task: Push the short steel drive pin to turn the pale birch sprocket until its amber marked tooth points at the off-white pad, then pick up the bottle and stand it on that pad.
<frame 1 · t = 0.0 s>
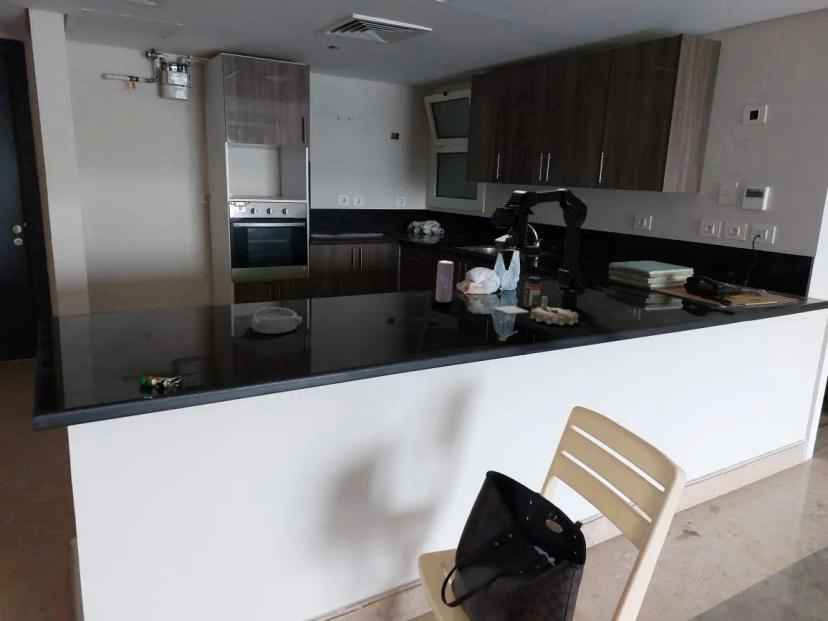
hand: (514, 272, 201), 15 cm above the counter, fingers open, 9 cm apart
supplement bottle: (531, 307, 216), on the counter
beverage can: (443, 301, 218), on the counter
dish: (274, 329, 169), on the counter
sprocket: (554, 309, 196), point 4 cm above the counter, hinge at 0.0°
pad: (510, 310, 208), on the counter
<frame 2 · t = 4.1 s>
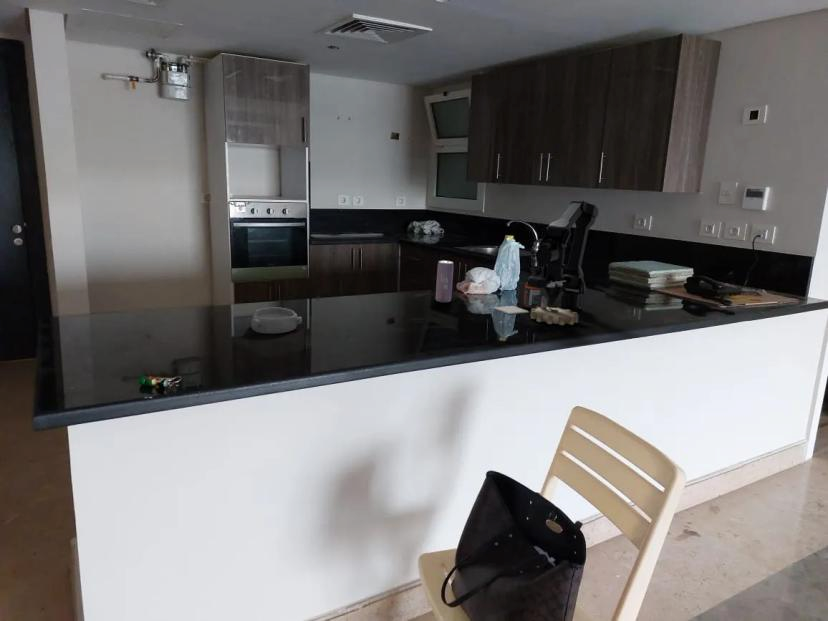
hand: (551, 305, 201), 4 cm above the counter, fingers closed
sprocket: (554, 309, 196), point 4 cm above the counter, hinge at 1.5°, touching gripper
everything else where it was.
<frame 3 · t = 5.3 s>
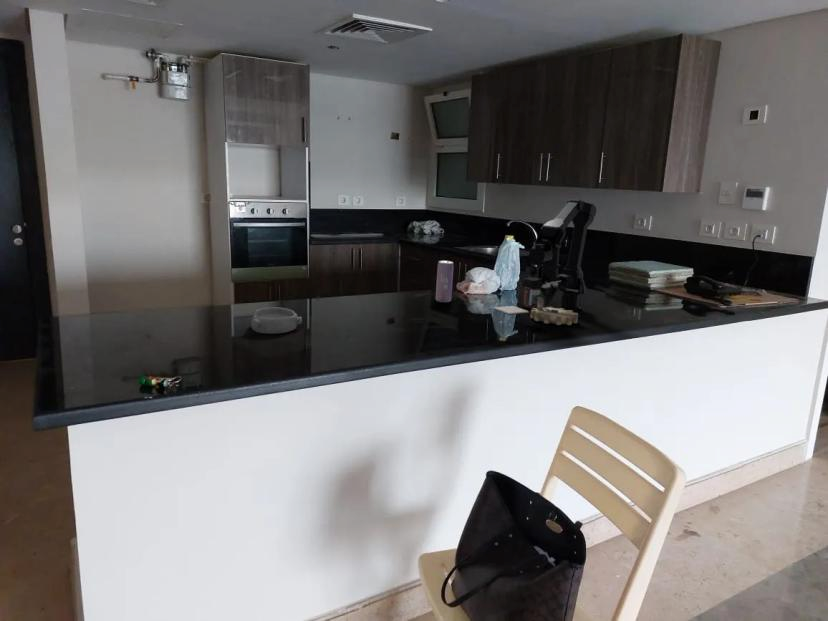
hand: (546, 305, 201), 4 cm above the counter, fingers closed
sprocket: (554, 309, 196), point 4 cm above the counter, hinge at 23.4°, touching gripper
everything else where it was.
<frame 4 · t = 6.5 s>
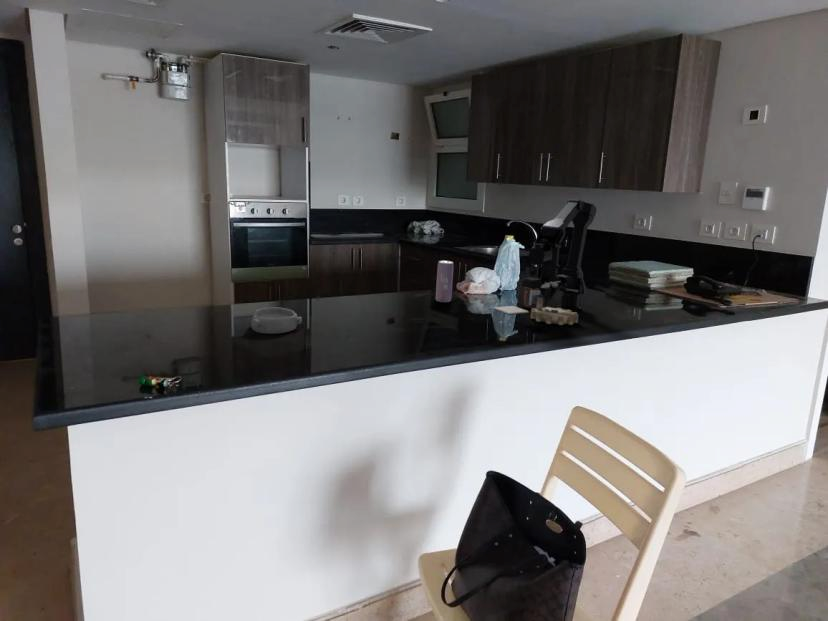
hand: (545, 305, 200), 4 cm above the counter, fingers closed
sprocket: (554, 309, 196), point 4 cm above the counter, hinge at 28.7°, touching gripper
everything else where it was.
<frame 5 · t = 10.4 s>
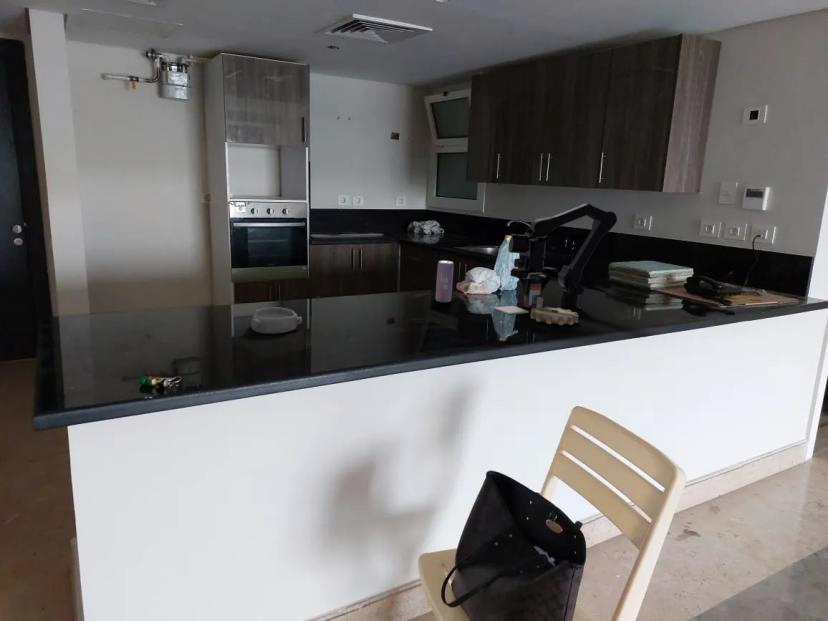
hand: (532, 295, 215), 5 cm above the counter, fingers closed on supplement bottle, 6 cm apart
supplement bottle: (531, 307, 216), on the counter, touching gripper
sprocket: (554, 309, 196), point 4 cm above the counter, hinge at 29.0°
everything else where it was.
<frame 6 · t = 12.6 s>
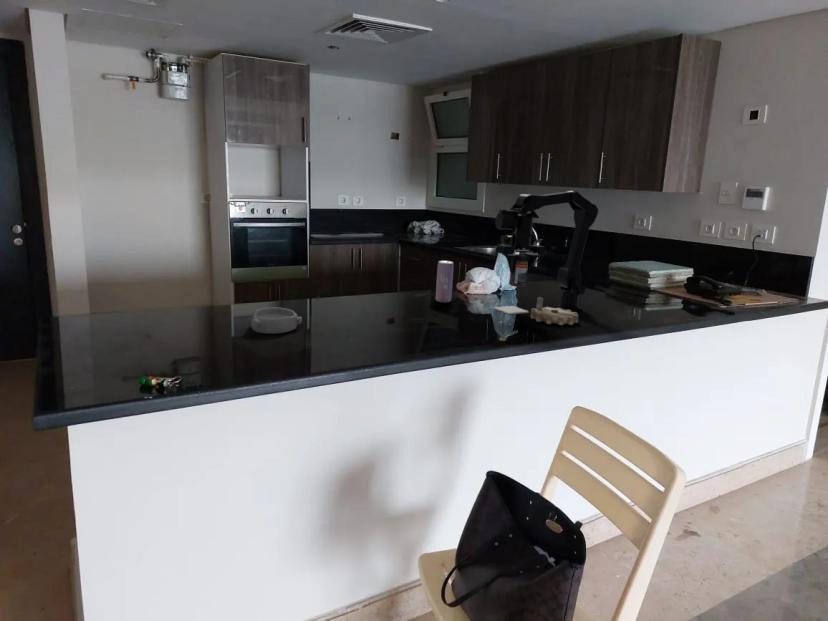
hand: (518, 273, 207), 13 cm above the counter, fingers closed on supplement bottle, 6 cm apart
supplement bottle: (517, 286, 208), point 9 cm above the counter, touching gripper
everything else where it was.
when the fingers open (6 cm above the counter, at t = 14.6 s): supplement bottle stays where it is, resting on pad.
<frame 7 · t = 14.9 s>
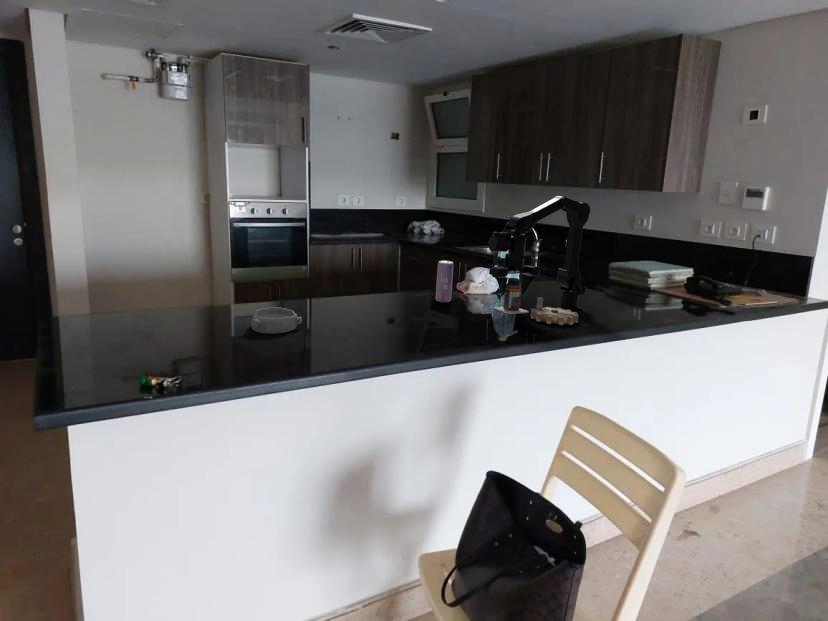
hand: (512, 294, 207), 6 cm above the counter, fingers open, 9 cm apart
supplement bottle: (511, 309, 208), resting on pad
everything else where it was.
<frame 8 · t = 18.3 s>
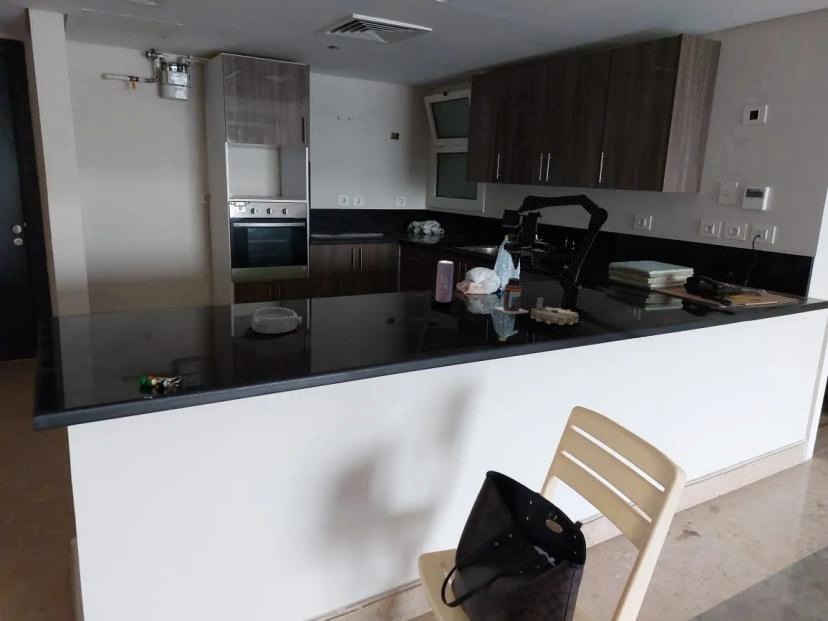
hand: (524, 269, 221), 13 cm above the counter, fingers open, 9 cm apart
nothing on the counter moved.
at the end: sprocket at +29° (first picture: +0°); supplement bottle 0.1 cm off-centre on the pad, point 0.3 cm above the pad's base; supplement bottle tilted 0° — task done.
